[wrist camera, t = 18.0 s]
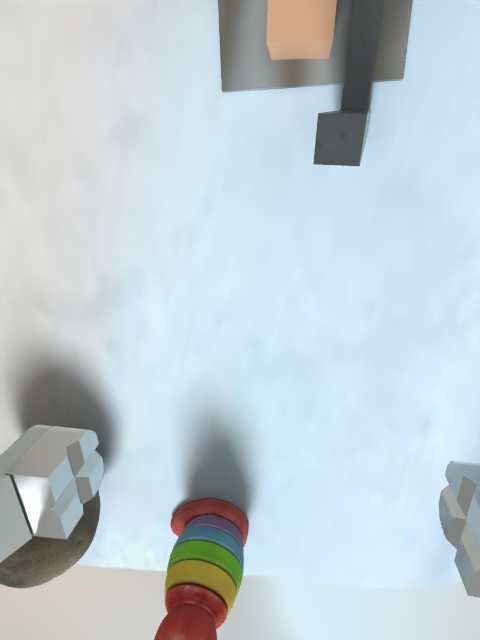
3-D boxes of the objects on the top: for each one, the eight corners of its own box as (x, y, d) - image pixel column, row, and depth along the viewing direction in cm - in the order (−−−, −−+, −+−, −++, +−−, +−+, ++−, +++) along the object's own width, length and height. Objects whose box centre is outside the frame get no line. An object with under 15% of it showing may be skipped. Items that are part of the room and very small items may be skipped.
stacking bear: (167, 520, 53) (107, 674, 37) (202, 482, 49) (152, 637, 33) (227, 557, 55) (195, 723, 38) (267, 523, 50) (249, 692, 34)
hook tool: (270, 140, 33) (213, 160, 21) (278, -61, 26) (202, -189, 15) (365, 143, 31) (359, 166, 19) (399, -75, 24) (422, -240, 13)
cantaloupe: (67, 510, 56) (-9, 620, 43) (11, 440, 52) (-93, 537, 39) (140, 491, 52) (82, 607, 38) (86, 413, 48) (-1, 512, 34)
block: (271, 59, 29) (266, 42, 25) (274, -12, 28) (269, -43, 23) (329, 58, 29) (333, 39, 25) (335, -16, 27) (341, -48, 23)
